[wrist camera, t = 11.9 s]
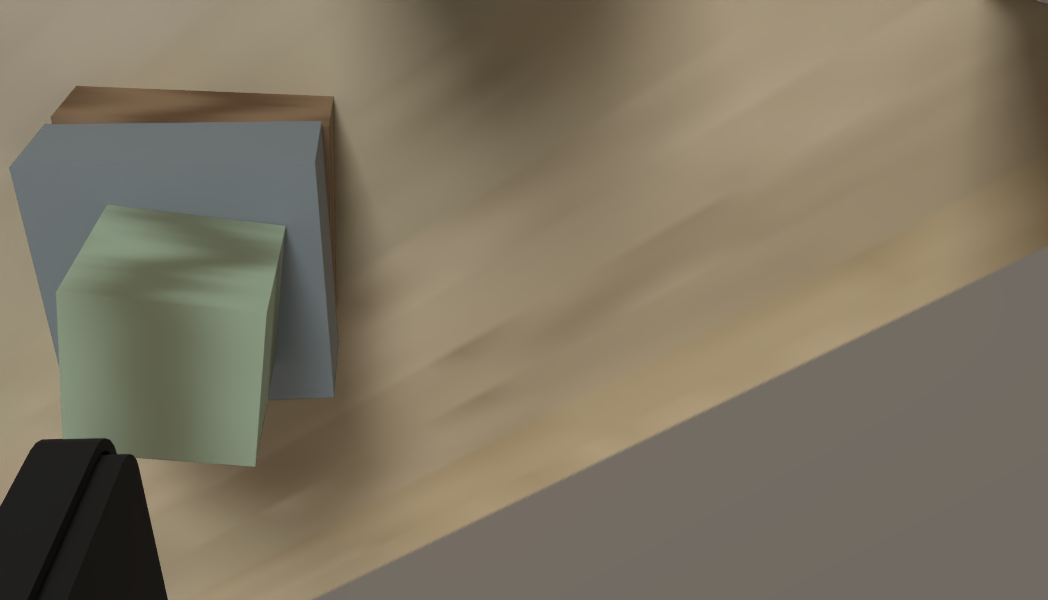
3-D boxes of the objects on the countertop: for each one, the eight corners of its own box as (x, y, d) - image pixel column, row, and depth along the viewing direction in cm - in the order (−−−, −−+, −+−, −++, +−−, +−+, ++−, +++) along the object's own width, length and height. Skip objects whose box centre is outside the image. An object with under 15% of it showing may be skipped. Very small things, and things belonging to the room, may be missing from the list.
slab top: (321, 120, 38) (315, 161, 34) (338, 342, 43) (333, 397, 39) (44, 124, 37) (9, 167, 33) (95, 351, 42) (69, 408, 38)
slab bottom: (333, 92, 41) (328, 126, 38) (336, 300, 46) (332, 347, 43) (79, 81, 40) (50, 117, 36) (111, 296, 45) (88, 345, 41)
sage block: (285, 225, 35) (266, 313, 30) (274, 364, 38) (255, 466, 33) (107, 204, 34) (56, 292, 29) (109, 349, 37) (63, 452, 32)
